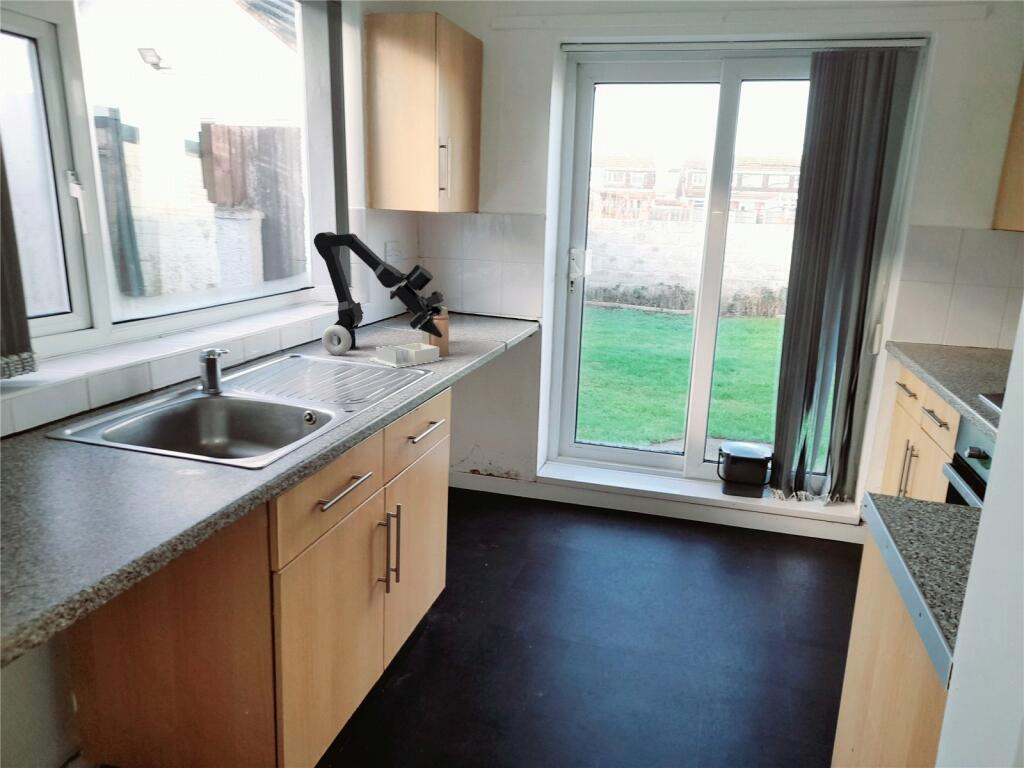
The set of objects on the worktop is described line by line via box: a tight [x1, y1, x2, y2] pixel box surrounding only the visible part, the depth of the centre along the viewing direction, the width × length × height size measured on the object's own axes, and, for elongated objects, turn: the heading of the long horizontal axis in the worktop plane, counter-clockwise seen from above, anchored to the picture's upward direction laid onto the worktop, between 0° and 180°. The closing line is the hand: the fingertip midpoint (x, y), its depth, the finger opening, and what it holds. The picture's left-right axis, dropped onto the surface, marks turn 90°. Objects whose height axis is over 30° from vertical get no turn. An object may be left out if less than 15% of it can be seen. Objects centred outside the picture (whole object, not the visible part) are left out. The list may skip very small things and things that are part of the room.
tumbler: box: [432, 315, 450, 357], centre depth 235 cm, size 6×6×13 cm
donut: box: [321, 324, 352, 356], centre depth 232 cm, size 10×4×10 cm, turn 80°
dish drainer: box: [369, 342, 443, 367], centre depth 226 cm, size 14×18×5 cm
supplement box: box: [421, 306, 449, 345], centre depth 252 cm, size 8×5×13 cm, turn 131°
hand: (444, 335), depth 235 cm, fingers closed on tumbler, 6 cm apart
